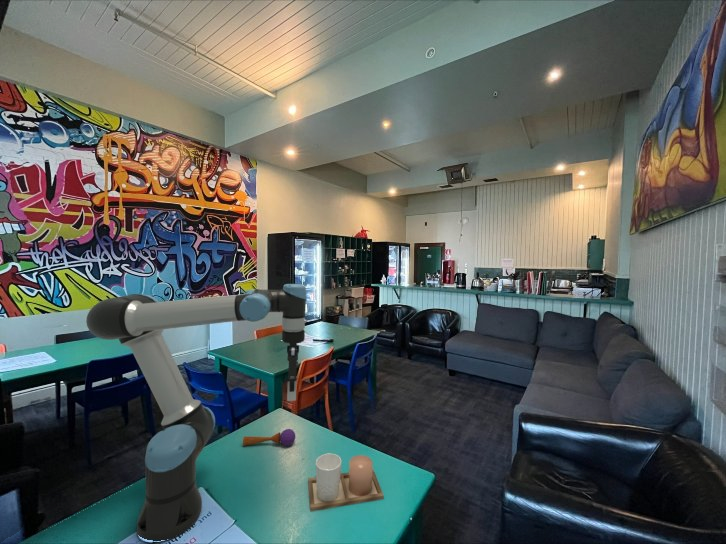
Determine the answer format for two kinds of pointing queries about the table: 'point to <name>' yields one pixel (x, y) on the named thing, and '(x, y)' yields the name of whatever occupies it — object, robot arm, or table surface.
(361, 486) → the pink round cylinder
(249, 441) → the kendama
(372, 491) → the wooden divided tray
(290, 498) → the table surface
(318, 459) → the white cup
